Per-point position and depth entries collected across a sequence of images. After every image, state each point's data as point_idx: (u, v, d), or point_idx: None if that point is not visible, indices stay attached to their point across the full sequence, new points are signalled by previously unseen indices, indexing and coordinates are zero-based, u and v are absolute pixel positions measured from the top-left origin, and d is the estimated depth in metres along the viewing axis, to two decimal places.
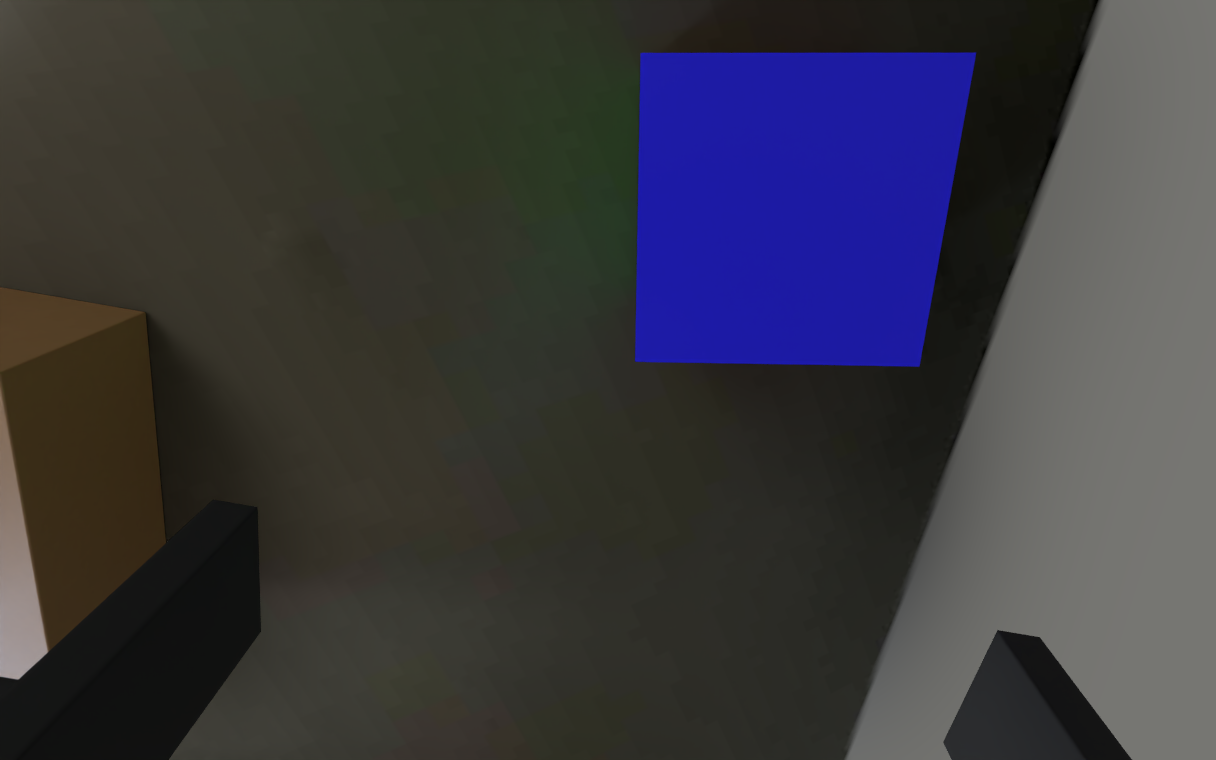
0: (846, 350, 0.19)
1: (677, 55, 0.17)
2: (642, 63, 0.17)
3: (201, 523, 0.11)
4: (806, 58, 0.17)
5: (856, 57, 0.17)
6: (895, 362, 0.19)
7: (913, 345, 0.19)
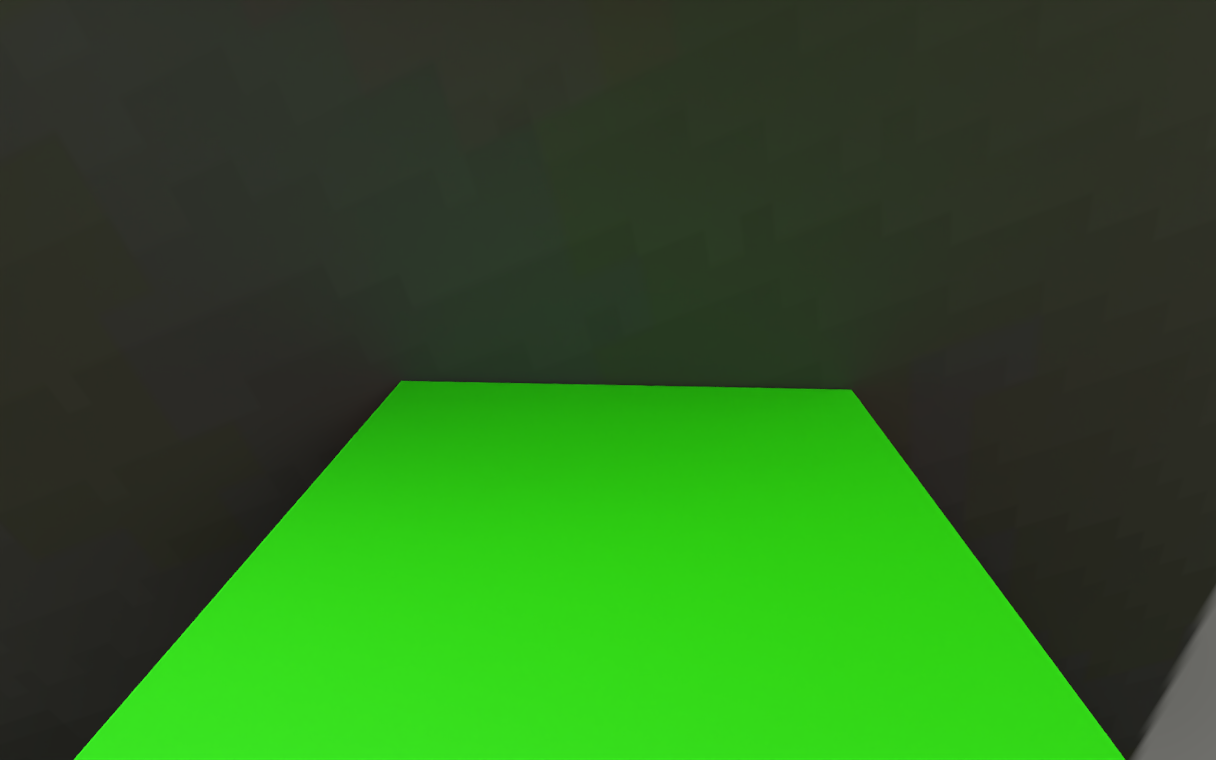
0: None
1: None
2: None
3: None
4: None
5: None
6: None
7: None
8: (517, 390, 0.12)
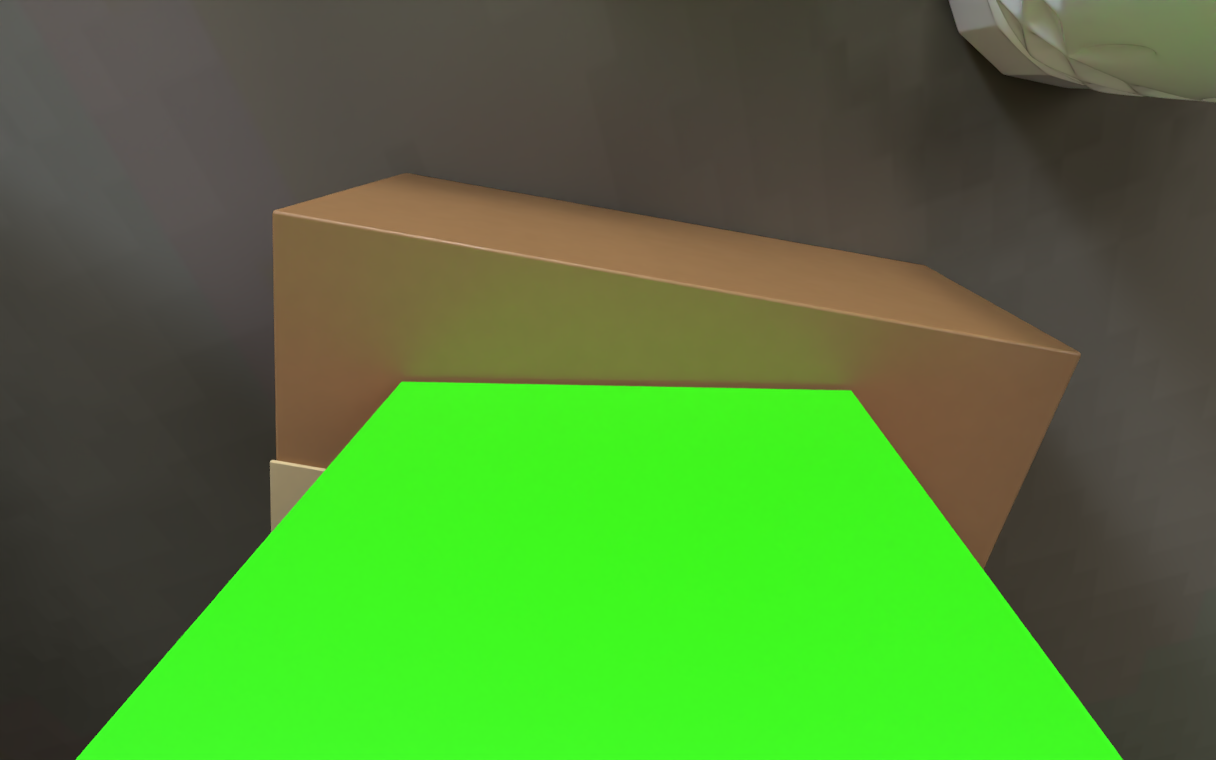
0: None
1: None
2: None
3: None
4: None
5: None
6: None
7: None
8: (517, 391, 0.12)
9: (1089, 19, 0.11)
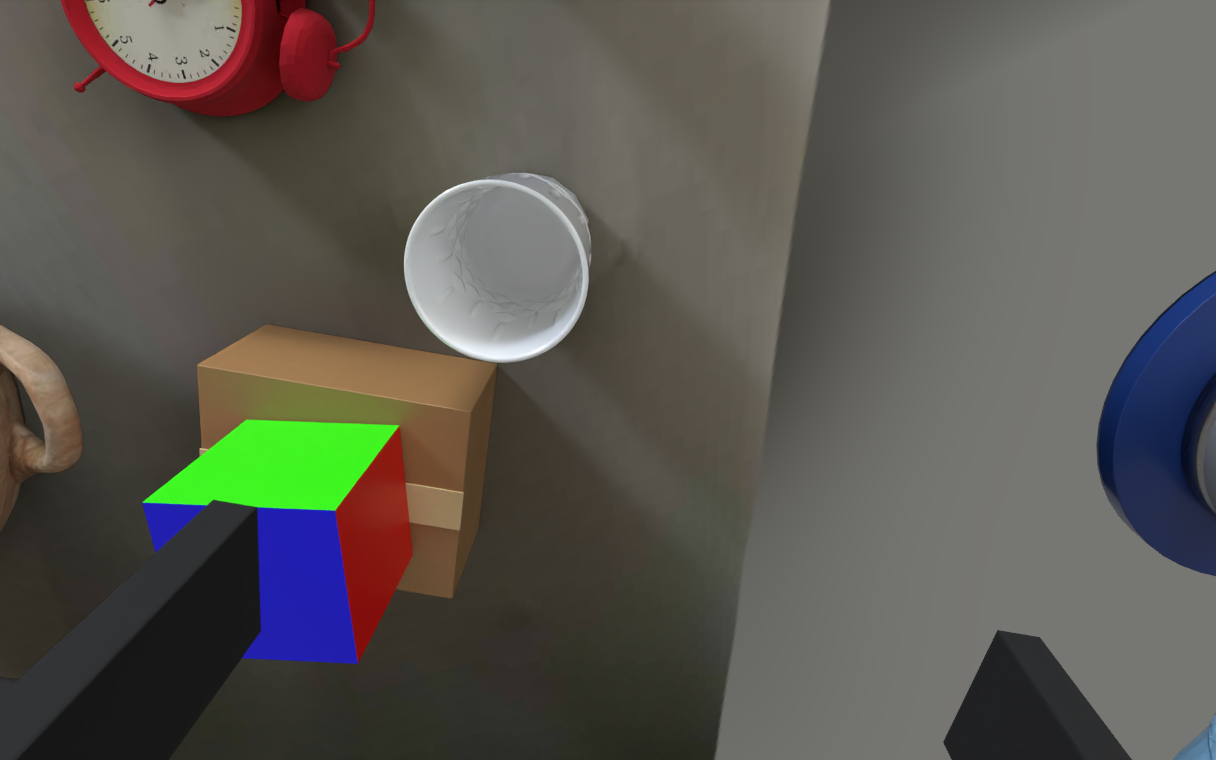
0: None
1: (336, 529, 0.28)
2: (329, 511, 0.28)
3: (201, 523, 0.11)
4: (344, 590, 0.29)
5: (347, 613, 0.30)
6: None
7: None
8: (284, 423, 0.35)
9: None
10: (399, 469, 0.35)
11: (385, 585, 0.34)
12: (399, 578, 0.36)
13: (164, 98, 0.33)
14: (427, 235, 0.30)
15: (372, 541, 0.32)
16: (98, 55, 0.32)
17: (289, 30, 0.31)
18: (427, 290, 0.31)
